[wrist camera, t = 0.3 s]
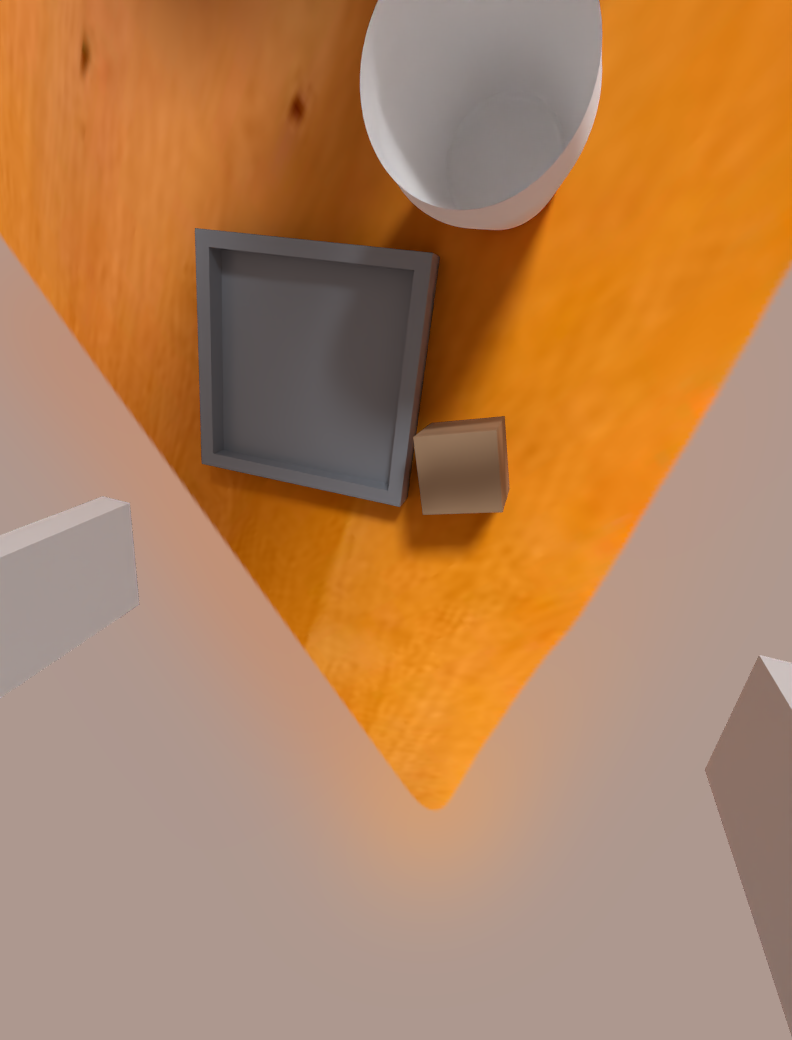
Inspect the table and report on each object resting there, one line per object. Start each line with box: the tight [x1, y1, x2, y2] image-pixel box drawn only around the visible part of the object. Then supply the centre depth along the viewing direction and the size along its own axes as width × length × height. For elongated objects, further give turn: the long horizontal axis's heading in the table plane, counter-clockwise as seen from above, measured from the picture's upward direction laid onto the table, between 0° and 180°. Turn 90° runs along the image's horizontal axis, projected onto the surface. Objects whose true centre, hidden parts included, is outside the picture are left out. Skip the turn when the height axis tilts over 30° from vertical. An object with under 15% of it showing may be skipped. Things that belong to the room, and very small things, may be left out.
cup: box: [360, 0, 602, 230], centre depth 24 cm, size 9×9×12 cm
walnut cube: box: [413, 416, 509, 515], centre depth 33 cm, size 5×5×5 cm
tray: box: [195, 228, 440, 507], centre depth 36 cm, size 16×16×2 cm
